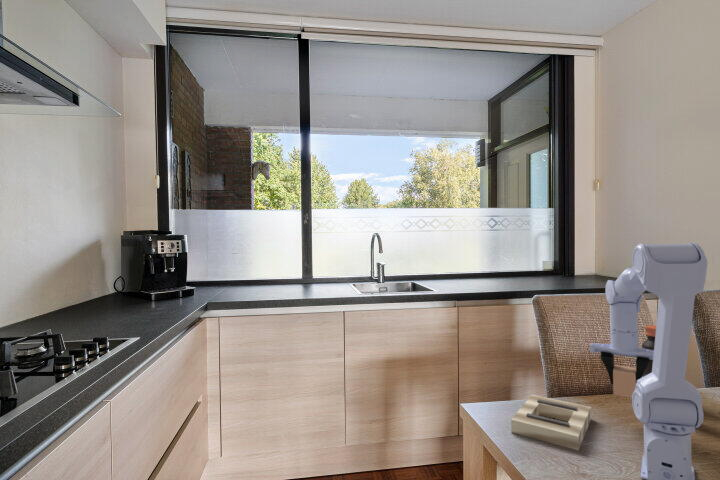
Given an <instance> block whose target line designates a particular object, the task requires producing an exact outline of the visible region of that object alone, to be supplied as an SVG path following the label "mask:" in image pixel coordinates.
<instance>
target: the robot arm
mask: <svg viewBox="0 0 720 480" xmlns="http://www.w3.org/2000/svg"><path fill="white" fill-rule="evenodd" d="M631 262H632V266H630V267H629V266H627V268H626V269H624V270H623V271H622V273H621V274H620V275H619V276H618V277H617V278H616V280H612V279H608V280H607V281H606V284H605V291H604V292H605V298H606V301H607V303H608V304H609V332H610V333H609V334H610V335H609V337H610V343H595V342H591V343H589V352H590V353H599V354H600V356H599V357H600V360H601V361H602V363H603V365H604V367H605V369H606V372H607V374H608V377H609V381H610V385H611V386H613V369H614V366H615V356H621V357H622V356H623V357H630V358H635V359H636V360H635V368H636V374H637V377H636V387H635V390H634V392H633V394H632V398H631V405H632V411H633V413H634V415H635V416H636V417H635V418H637V420H638V421H639V422H640V423H642V424H643V454H642V458H641V469H640V478H641V479H643V480H696V476H695V468H694V466H693V465H692V434H695V433H696V429H697V428H700V427H701V425H703V422H704V410H703V397H702V395H701V393H700V391H699V390H698V389H697V387H696V386H695V385H694V384H692V383H691V382H689V381H688V380H686V373H687V366H688V357H689V347H690V341H691V335H692V323H693V317H694V309H695V301H696V300H695V299H696V295H698V294H700V293H702V292H703V291H704V290H705V289H704V288H705V284H706V278H707V277H706V276H707V270H708V259H707V257H706V254H705V252H704V250H703V248H702V247H701V246H700V245H699V244H698V243H696V242H688V243H663V244H659V243H657V244H654V243H653V244H651V243H650V244H645V243H638V244H637V245H636V246H635V247H634V249H633V250H632V256H631ZM645 292H648V293H650V294H653V295H656V296H657V297H658V306H657V315H656V325H655V326H656V335H655V345H654V350H649V349H644V348H642V347H639V313H640V312H641V303H642V300H643V294H644V293H645ZM649 359H651V360H653V366H652V372H651V373H650V374H648V375H646V376H644V377H643V374H644V372H645V370H646V368H647V366H648V364H649Z"/></svg>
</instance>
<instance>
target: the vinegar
mask: <svg viewBox="0 0 720 480" xmlns="http://www.w3.org/2000/svg"><path fill="white" fill-rule="evenodd" d="M655 335H656V325H646V326H645V336H646V340H645V341H643V342H642V343H641V348H644V349H649V350H654V345H655ZM652 366H653V360H651V359H649V364H648V366H647V368H646V370H645V372H644V374H643V376H642V377H644V376H646V375H648V374H650V373H651V372H652Z"/></svg>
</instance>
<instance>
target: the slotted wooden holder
mask: <svg viewBox="0 0 720 480" xmlns="http://www.w3.org/2000/svg"><path fill="white" fill-rule="evenodd" d="M549 417H550V418H549ZM553 418H555V419H553ZM557 419H559V420H557ZM562 420H563V421H562ZM591 421H592V406H587V405H583V404H579V403H574V402H570V401H563V400H559V399H556V398H555V399H554V398H550V397H544V396H540V395H535V394H531V395H530V396H529V398H528V399H526V401H525V402H524V403H523V404H522V405H521V407H520V408H519V409H518V411H516V413H515V414H514V415H513V417H512V418H511V420H510V422H511V423H510V425H511V426H510V427H511V428H510V430H511V432H510V433H513V434H516V435H517V434H518V435H520V436H524V437H528V438H530V439H534V440H538V441H541V442H546V443H550V444H553V445H557V446H561V447H564V448H568V449H571V450H575V451H579V450H580V447H581V445H582V444H583V440H584V438H585V436H586V434H587V430H588V428H589V425H590V423H591Z"/></svg>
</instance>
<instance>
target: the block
mask: <svg viewBox="0 0 720 480" xmlns="http://www.w3.org/2000/svg"><path fill="white" fill-rule="evenodd" d="M636 377H637V374H636V367H631V366H625V365H619V364H618V365H617V364H614V369H613V385H612V386H613V390H612V391H613V395H615V396H618V397H619V396H620V397H625V398H631V399H632V394H633V392H634V390H635V387H636Z"/></svg>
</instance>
